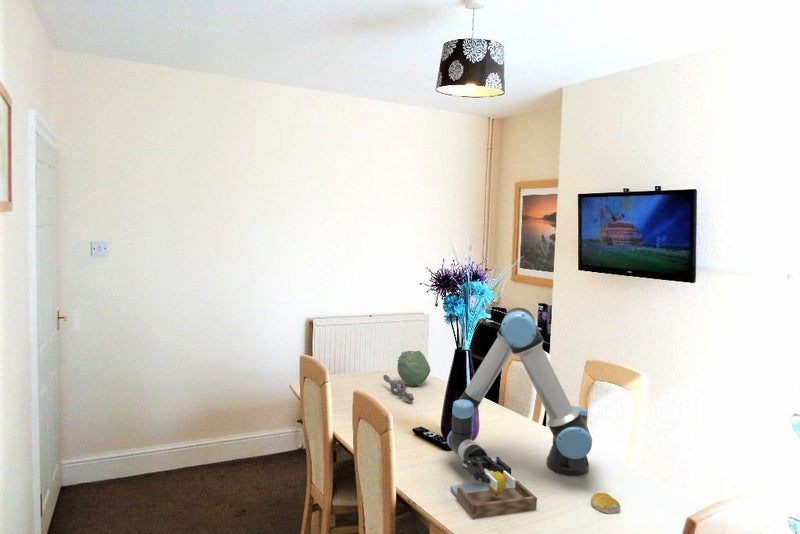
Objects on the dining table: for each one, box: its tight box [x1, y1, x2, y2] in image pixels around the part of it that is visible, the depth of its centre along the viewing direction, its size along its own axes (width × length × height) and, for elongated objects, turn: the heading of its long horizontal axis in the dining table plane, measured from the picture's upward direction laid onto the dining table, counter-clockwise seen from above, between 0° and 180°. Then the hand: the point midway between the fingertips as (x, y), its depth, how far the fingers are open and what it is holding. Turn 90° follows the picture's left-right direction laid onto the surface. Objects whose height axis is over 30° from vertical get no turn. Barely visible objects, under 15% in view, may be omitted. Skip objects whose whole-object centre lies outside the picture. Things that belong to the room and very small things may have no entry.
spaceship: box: [382, 374, 415, 403], centre depth 283 cm, size 8×35×8 cm
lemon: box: [488, 471, 506, 496], centre depth 171 cm, size 6×6×8 cm
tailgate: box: [449, 481, 512, 497], centre depth 180 cm, size 21×1×6 cm
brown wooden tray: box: [456, 480, 538, 520], centre depth 171 cm, size 22×12×4 cm, turn 108°
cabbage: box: [396, 350, 431, 387], centre depth 302 cm, size 16×19×20 cm
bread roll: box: [590, 492, 621, 515], centre depth 173 cm, size 8×9×4 cm
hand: (505, 484), depth 166 cm, fingers closed on lemon, 5 cm apart
